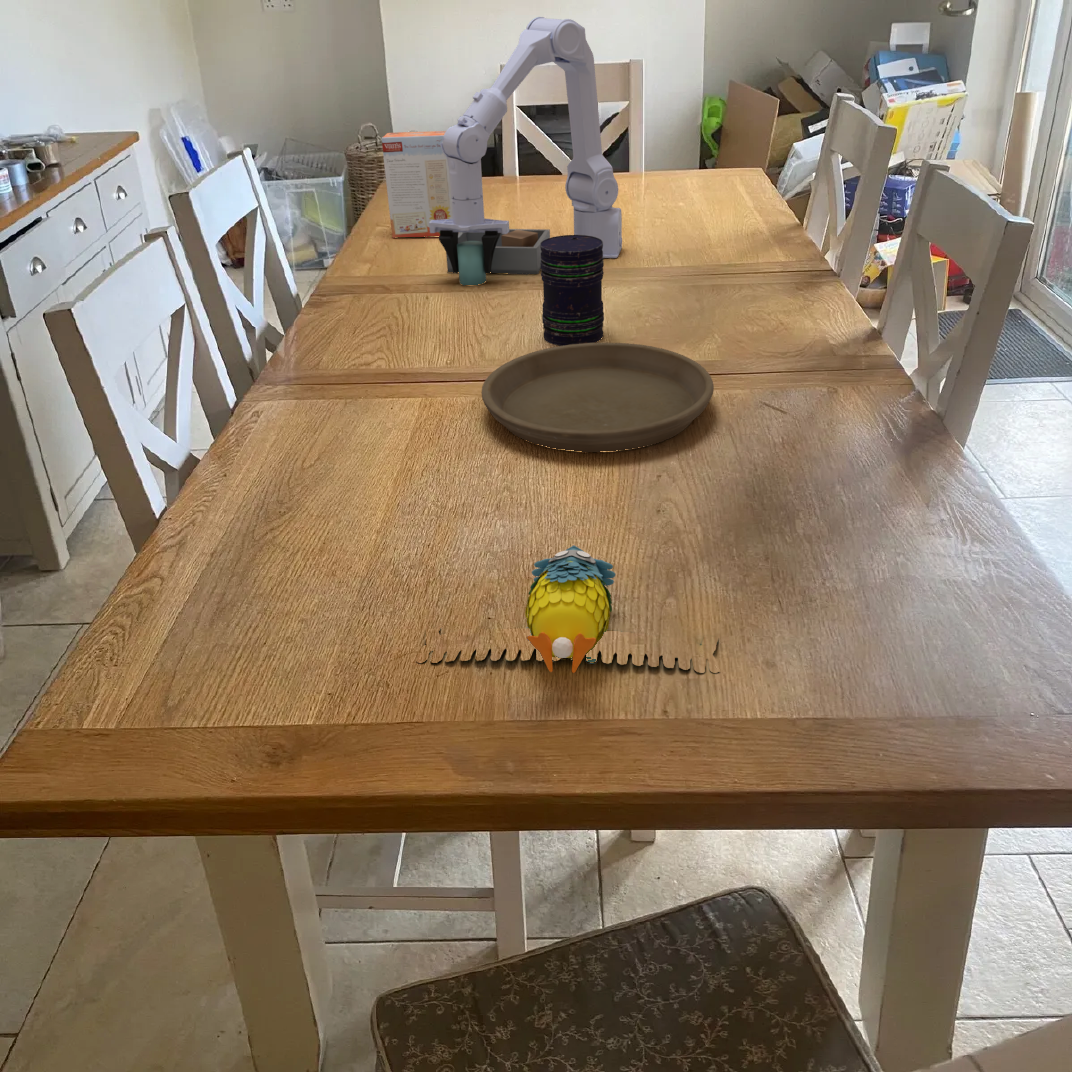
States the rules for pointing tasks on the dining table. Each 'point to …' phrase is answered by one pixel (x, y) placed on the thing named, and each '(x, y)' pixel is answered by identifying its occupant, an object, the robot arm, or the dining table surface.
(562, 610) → the owl figurine
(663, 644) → the dining table surface
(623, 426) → the plant saucer
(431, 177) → the cracker box
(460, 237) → the tote
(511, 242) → the walnut block
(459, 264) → the teal cylinder
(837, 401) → the dining table surface
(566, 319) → the storage jar
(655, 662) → the dining table surface
